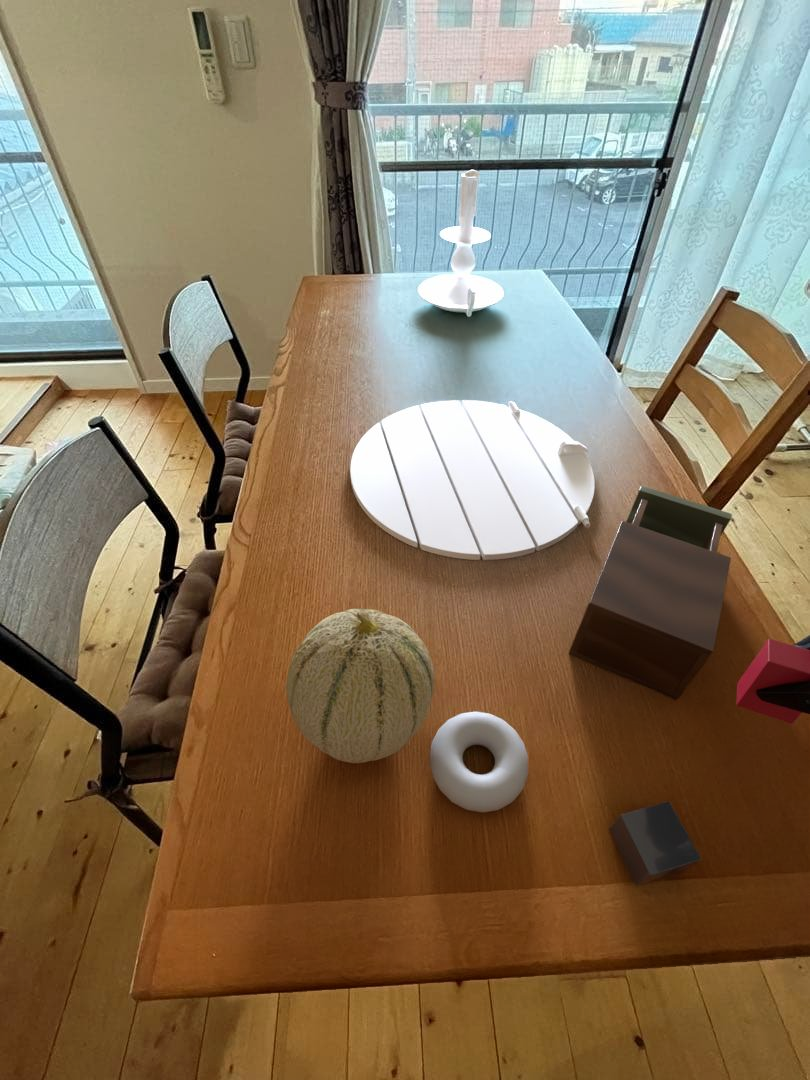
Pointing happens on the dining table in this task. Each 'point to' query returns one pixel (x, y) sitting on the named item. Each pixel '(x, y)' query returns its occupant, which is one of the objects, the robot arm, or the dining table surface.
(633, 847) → the stand
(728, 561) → the cabinet
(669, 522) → the drawer
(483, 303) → the candlestick
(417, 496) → the lazy susan
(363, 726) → the cantaloupe
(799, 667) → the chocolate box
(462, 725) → the donut
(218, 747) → the dining table surface
